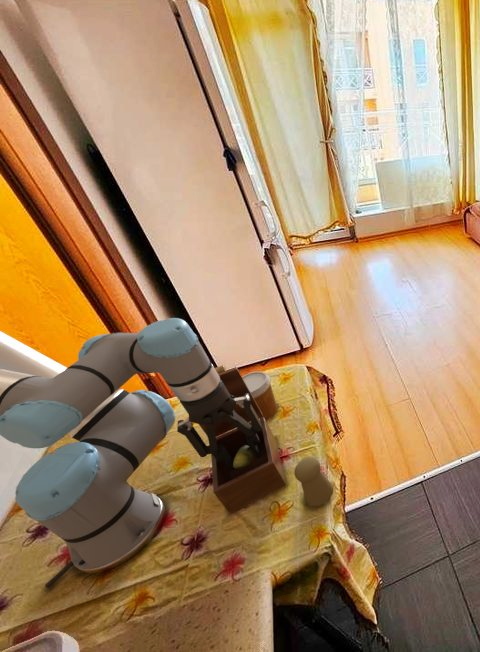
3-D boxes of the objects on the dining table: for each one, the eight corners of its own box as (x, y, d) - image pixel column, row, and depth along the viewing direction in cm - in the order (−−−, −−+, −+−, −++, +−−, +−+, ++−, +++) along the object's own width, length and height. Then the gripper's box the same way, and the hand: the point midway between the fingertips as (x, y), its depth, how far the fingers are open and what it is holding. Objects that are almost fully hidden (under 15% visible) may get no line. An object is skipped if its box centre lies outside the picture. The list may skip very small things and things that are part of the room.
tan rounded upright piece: (323, 475, 87) (310, 447, 81) (338, 490, 83) (325, 462, 78) (300, 495, 83) (284, 467, 77) (314, 512, 80) (299, 483, 74)
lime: (236, 475, 83) (227, 461, 80) (236, 459, 86) (228, 445, 84) (257, 466, 84) (250, 452, 82) (257, 450, 88) (249, 437, 85)
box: (286, 485, 85) (273, 462, 81) (230, 514, 80) (213, 492, 76) (275, 438, 97) (263, 416, 92) (226, 461, 92) (210, 439, 87)
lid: (236, 369, 82) (234, 353, 86) (175, 392, 77) (175, 374, 81) (263, 416, 91) (259, 400, 96) (209, 439, 86) (208, 422, 91)
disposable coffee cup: (248, 406, 107) (231, 377, 100) (282, 395, 110) (268, 366, 104) (246, 430, 100) (228, 400, 93) (283, 417, 103) (268, 387, 96)
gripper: (143, 423, 66) (201, 494, 78) (251, 380, 74) (288, 451, 86) (147, 397, 71) (201, 467, 84) (247, 360, 79) (282, 430, 91)
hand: (245, 459), depth 85 cm, fingers open, 5 cm apart
